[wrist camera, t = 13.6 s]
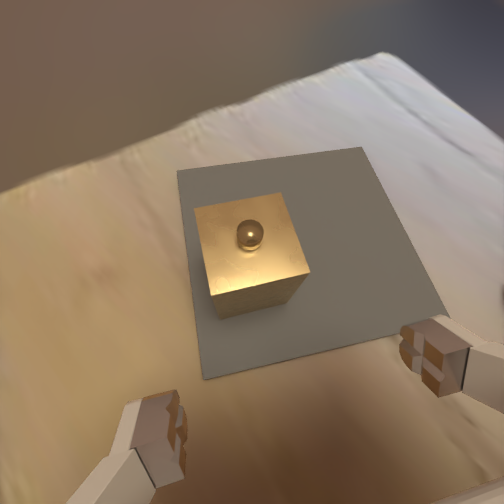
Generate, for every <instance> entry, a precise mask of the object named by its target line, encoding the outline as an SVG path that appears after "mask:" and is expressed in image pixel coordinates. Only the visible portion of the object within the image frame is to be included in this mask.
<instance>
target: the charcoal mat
mask: <svg viewBox="0 0 504 504" xmlns="http://www.w3.org/2000/svg"><path fill="white" fill-rule="evenodd" d="M177 176H178V184H179V192H180V200H181V208H182V216H183V224H184V232H185V239H186V247H187V255H188V263H189V271H190V279H191V287H192V295H193V303H194V310H195V318H196V326H197V334H198V342H199V350H200V358H201V366H202V374H203V380H206V379H210V378H214V377H218V376H222V375H227V374H231V373H235V372H239V371H243V370H247V369H252V368H256V367H260V366H264V365H268V364H272V363H277V362H281V361H285V360H289V359H293V358H297V357H302V356H306V355H310V354H314V353H318V352H322V351H327V350H331V349H335V348H339V347H343V346H348V345H352V344H356V343H360V342H364V341H368V340H373V339H377V338H381V337H385V336H389V335H393V334H398V333H400V329H401V327H402V326H403V325H406V324H409V323H413V322H416V321H420V320H423V319H427V318H430V317H433V316H437V315H440V314H441V315H445V316H447V317H449V318H450V316H449V314H448V312H447V310H446V309H445V307H444V305H443V303H442V301H441V299H440V297H439V295H438V293H437V291H436V289H435V287H434V285H433V283H432V282H431V280H430V278H429V276H428V274H427V272H426V270H425V268H424V266H423V264H422V262H421V260H420V258H419V256H418V255H417V253H416V251H415V249H414V247H413V245H412V243H411V241H410V239H409V237H408V235H407V233H406V231H405V230H404V228H403V226H402V224H401V222H400V220H399V218H398V216H397V214H396V212H395V210H394V208H393V206H392V204H391V203H390V201H389V199H388V197H387V195H386V193H385V191H384V189H383V187H382V185H381V183H380V181H379V179H378V177H377V176H376V174H375V172H374V170H373V168H372V166H371V164H370V162H369V160H368V158H367V156H366V154H365V152H364V150H363V149H362V147H356V148H348V149H340V150H333V151H325V152H317V153H309V154H302V155H294V156H286V157H279V158H271V159H263V160H255V161H248V162H240V163H232V164H225V165H217V166H209V167H201V168H194V169H186V170H178V171H177ZM280 192H281V194H282V197H283V199H284V202H285V205H286V207H287V210H288V213H289V216H290V218H291V221H292V224H293V226H294V229H295V232H296V235H297V237H298V240H299V243H300V245H301V248H302V251H303V253H304V256H305V259H306V262H307V264H308V267H309V270H310V274H309V275H308V276H307V278H306V279H305V280H304V281H303V283H302V284H301V285H300V287H299V288H298V289H297V291H296V292H295V293H294V295H293V296H292V297H291V298H290V300H289V301H288V302H287V303H285V304H281V305H277V306H273V307H269V308H265V309H261V310H257V311H253V312H249V313H245V314H241V315H238V316H234V317H230V318H226V319H222V320H220V318H219V316H218V313H217V310H216V308H215V305H214V302H213V299H212V297H211V293H210V288H209V283H208V277H207V272H206V267H205V262H204V257H203V252H202V247H201V242H200V237H199V232H198V227H197V222H196V217H195V212H194V208H198V207H204V206H209V205H215V204H220V203H225V202H231V201H236V200H242V199H247V198H253V197H258V196H264V195H269V194H275V193H280ZM450 319H451V318H450Z"/></svg>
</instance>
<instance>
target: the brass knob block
mask: <svg viewBox="0 0 504 504" xmlns="http://www.w3.org/2000/svg"><path fill="white" fill-rule="evenodd" d="M194 212H195V217H196V222H197V227H198V232H199V237H200V242H201V247H202V252H203V257H204V262H205V267H206V272H207V277H208V283H209V288H210V293H211V297H212V299H213V302H214V305H215V308H216V310H217V313H218V316H219V318H220V320H222V319H226V318H230V317H234V316H238V315H241V314H245V313H249V312H253V311H257V310H261V309H265V308H269V307H273V306H277V305H281V304H285V303H287V302H288V301H289V300H290V298H291V297H292V296H293V295H294V293H295V292H296V291H297V289H298V288H299V287H300V285H301V284H302V283H303V281H304V280H305V279H306V278H307V276H308V275H309V274H310V270H309V267H308V264H307V262H306V259H305V256H304V253H303V251H302V248H301V245H300V243H299V240H298V237H297V235H296V232H295V229H294V226H293V224H292V221H291V218H290V216H289V213H288V210H287V207H286V205H285V202H284V199H283V197H282V194H281V192H280V193H275V194H269V195H264V196H258V197H253V198H247V199H242V200H236V201H231V202H225V203H220V204H215V205H209V206H204V207H198V208H194Z"/></svg>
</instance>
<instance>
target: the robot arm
mask: <svg viewBox="0 0 504 504" xmlns="http://www.w3.org/2000/svg"><path fill="white" fill-rule="evenodd" d="M400 335H401V336H402V337H403V340H402V341H401V343H400V344H399V352H400V355H401V358H402V360H403V361H404V363H405V364H406V366H407V367H408V368H409V369H410V370H411V371H413V372H415V373H417V374H420V375H421V379H422V382H423V383H424V384H425V385H426V386H427V387H428V388H429V389H430V390H431V391H432V392H433V393H434V394H435V395H436V396H437V397H438V398H439V397H442V396H446V395H450V394H453V393H457V392H460V391H462V393H464V394H466V395H468V396H470V397H472V398H474V399H476V400H478V401H480V402H482V403H484V404H486V405H488V406H490V407H492V408H494V409H496V410H498V411H500V412H501V413H503V414H504V344H500V343H497V342H493V341H491V342H487V341H485V340H483V339H482V338H480V337H479V336H477V335H476V334H474V333H472V332H471V331H469V330H468V329H466V328H464V327H463V326H461V325H460V324H458V323H456V322H455V321H453V320H452V319H450V318H449V317H447V316H445V315H441V314H440V315H437V316H433V317H430V318H427V319H423V320H420V321H416V322H413V323H409V324H406V325H403V326H402V327H401V329H400ZM179 398H180V397H179V395H178V392H177V390H171V391H167V392H163V393H159V394H155V395H151V396H147V397H144V398H140V399H136V400H132V401H128V402H127V404H126V405H125V407H124V410H123V413H122V416H121V419H120V422H119V425H118V429H117V432H116V435H115V438H114V441H113V444H112V447H111V450H110V454H109V456H107V457H104V458H103V459H102V460H101V461H100V462H99V464H98V465H97V466H96V467H95V468H94V470H93V471H92V472H91V473H90V475H89V476H88V477H87V478H86V479H85V481H84V482H83V483H82V484H81V485H80V487H79V488H78V489H77V490H76V492H75V493H74V494H73V495H72V496H71V498H70V499H69V500H68V501H67V502H66V504H150V502H151V500H152V498H153V496H154V494H155V492H156V490H155V489H157V488H160V487H162V486H165V485H168V484H171V483H174V482H177V481H179V480H182V479H185V469H186V452H185V449H184V447H183V445H184V443H185V442H186V440H187V431H188V429H187V418H186V414H185V410H184V408H183V406H181V405H179ZM429 504H504V476H503V477H500V478H497V479H494V480H492V481H489V482H486V483H484V484H481V485H478V486H475V487H473V488H470V489H467V490H465V491H462V492H459V493H456V494H454V495H451V496H448V497H446V498H443V499H440V500H437V501H435V502H432V503H429Z"/></svg>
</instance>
